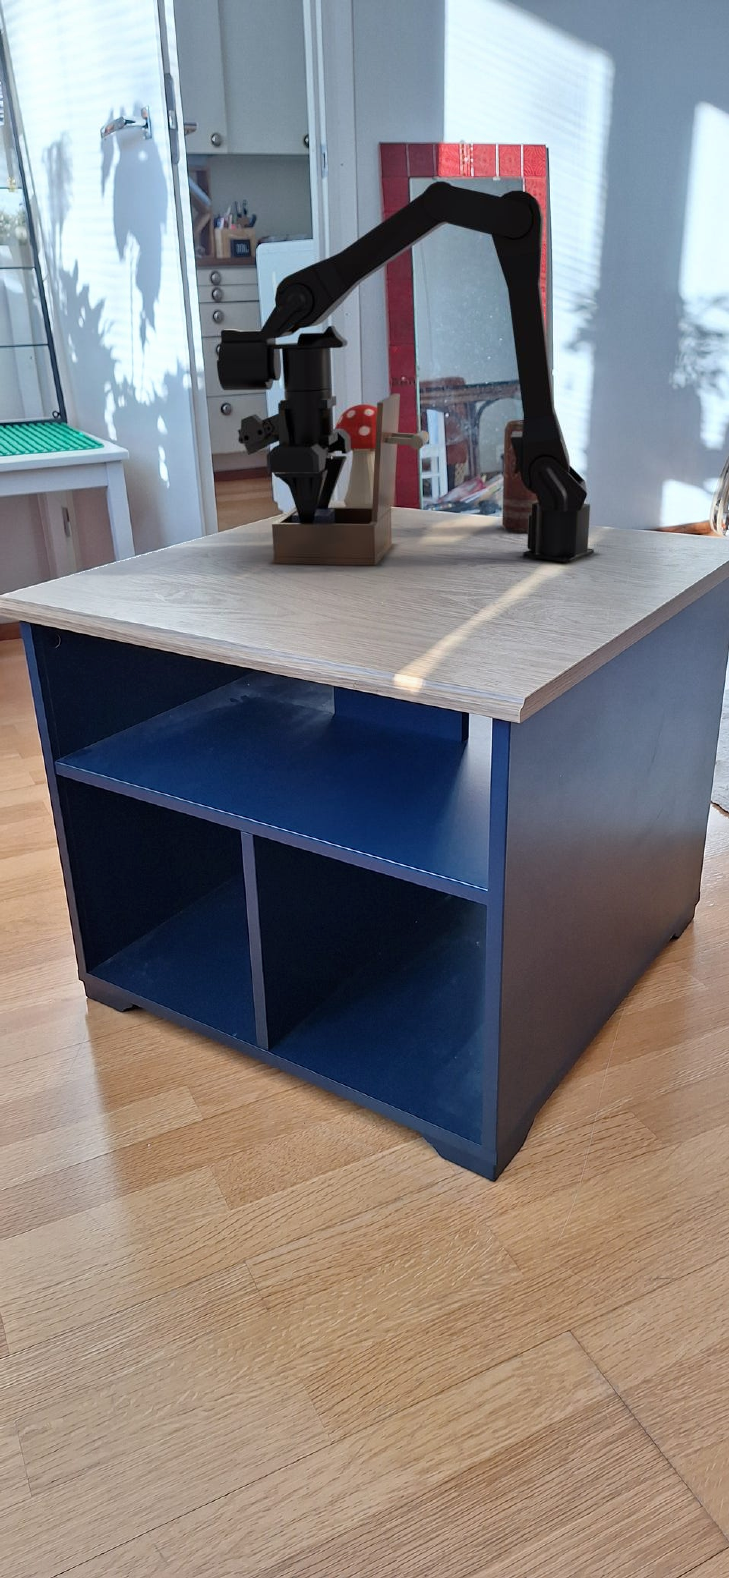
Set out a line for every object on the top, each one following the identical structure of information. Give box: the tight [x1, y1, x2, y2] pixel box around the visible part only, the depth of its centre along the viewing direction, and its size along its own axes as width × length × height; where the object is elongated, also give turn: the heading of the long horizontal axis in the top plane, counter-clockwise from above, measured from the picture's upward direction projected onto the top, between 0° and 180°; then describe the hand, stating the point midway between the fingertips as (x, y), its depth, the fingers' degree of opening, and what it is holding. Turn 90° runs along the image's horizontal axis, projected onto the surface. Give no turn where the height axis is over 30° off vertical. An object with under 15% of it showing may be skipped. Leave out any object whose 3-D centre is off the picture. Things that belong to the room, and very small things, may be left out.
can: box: [501, 419, 538, 534], centre depth 148 cm, size 6×6×14 cm
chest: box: [271, 506, 393, 566], centre depth 139 cm, size 13×12×5 cm
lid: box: [372, 392, 430, 522], centre depth 134 cm, size 13×12×5 cm
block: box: [292, 509, 335, 524], centre depth 139 cm, size 4×4×4 cm
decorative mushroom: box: [334, 403, 377, 507], centre depth 164 cm, size 10×9×15 cm
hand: (314, 521), depth 139 cm, fingers open, 7 cm apart
